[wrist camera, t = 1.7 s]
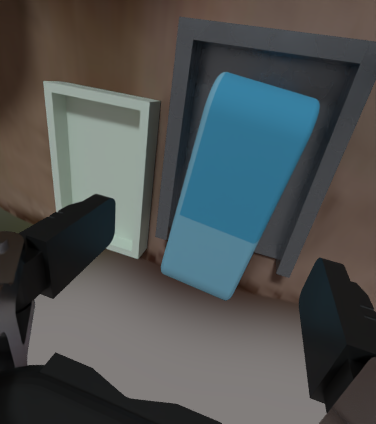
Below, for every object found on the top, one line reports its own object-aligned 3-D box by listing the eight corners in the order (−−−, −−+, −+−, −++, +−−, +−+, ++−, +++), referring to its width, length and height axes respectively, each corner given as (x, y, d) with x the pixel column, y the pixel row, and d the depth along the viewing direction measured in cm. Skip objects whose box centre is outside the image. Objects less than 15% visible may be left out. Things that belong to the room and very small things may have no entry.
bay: (374, 50, 18) (391, 43, 15) (287, 259, 27) (289, 277, 24) (191, 25, 21) (179, 16, 18) (166, 223, 29) (155, 236, 27)
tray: (160, 101, 24) (149, 102, 22) (147, 247, 31) (138, 259, 29) (61, 81, 26) (43, 81, 24) (71, 224, 33) (58, 232, 31)
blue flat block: (245, 222, 26) (224, 313, 15) (202, 206, 26) (155, 283, 16) (301, 94, 20) (328, 102, 10) (244, 78, 21) (213, 67, 10)
